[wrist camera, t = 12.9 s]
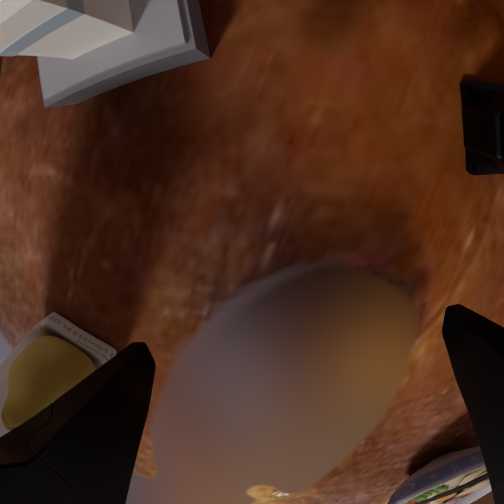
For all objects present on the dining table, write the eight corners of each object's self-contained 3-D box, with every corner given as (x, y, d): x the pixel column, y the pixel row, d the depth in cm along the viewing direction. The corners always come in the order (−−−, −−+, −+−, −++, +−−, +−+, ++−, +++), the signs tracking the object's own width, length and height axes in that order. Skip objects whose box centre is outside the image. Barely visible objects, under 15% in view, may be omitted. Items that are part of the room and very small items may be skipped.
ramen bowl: (376, 503, 42) (380, 538, 35) (356, 461, 34) (361, 513, 27) (498, 456, 36) (509, 488, 29) (522, 392, 28) (544, 435, 20)
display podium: (186, -62, 13) (168, -88, 9) (210, 58, 17) (194, 47, 13) (61, -8, 14) (29, -19, 11) (75, 104, 18) (40, 108, 15)
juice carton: (128, 347, 27) (22, 583, 6) (113, 389, 30) (33, 575, 9) (47, 298, 26) (-96, 491, 4) (43, 346, 29) (-61, 510, 7)
